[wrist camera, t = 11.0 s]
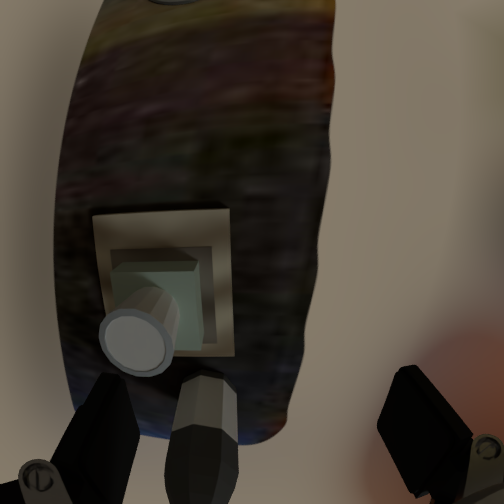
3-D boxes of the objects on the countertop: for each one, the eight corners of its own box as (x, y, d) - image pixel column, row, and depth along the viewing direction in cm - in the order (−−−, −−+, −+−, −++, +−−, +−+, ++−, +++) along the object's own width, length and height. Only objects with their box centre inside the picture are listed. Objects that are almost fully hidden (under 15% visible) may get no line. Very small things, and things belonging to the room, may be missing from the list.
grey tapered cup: (183, 344, 31) (172, 384, 24) (123, 333, 30) (101, 368, 23) (188, 285, 29) (175, 316, 22) (123, 275, 28) (95, 301, 22)
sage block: (122, 262, 32) (109, 272, 28) (198, 260, 33) (194, 271, 29) (133, 331, 34) (123, 348, 30) (204, 333, 35) (200, 350, 31)
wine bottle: (248, 385, 39) (266, 594, 10) (216, 417, 40) (212, 600, 11) (198, 358, 37) (167, 584, 8) (170, 393, 39) (128, 584, 10)
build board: (97, 214, 32) (91, 216, 31) (229, 208, 33) (229, 209, 32) (118, 347, 36) (114, 353, 35) (234, 349, 37) (234, 356, 36)
